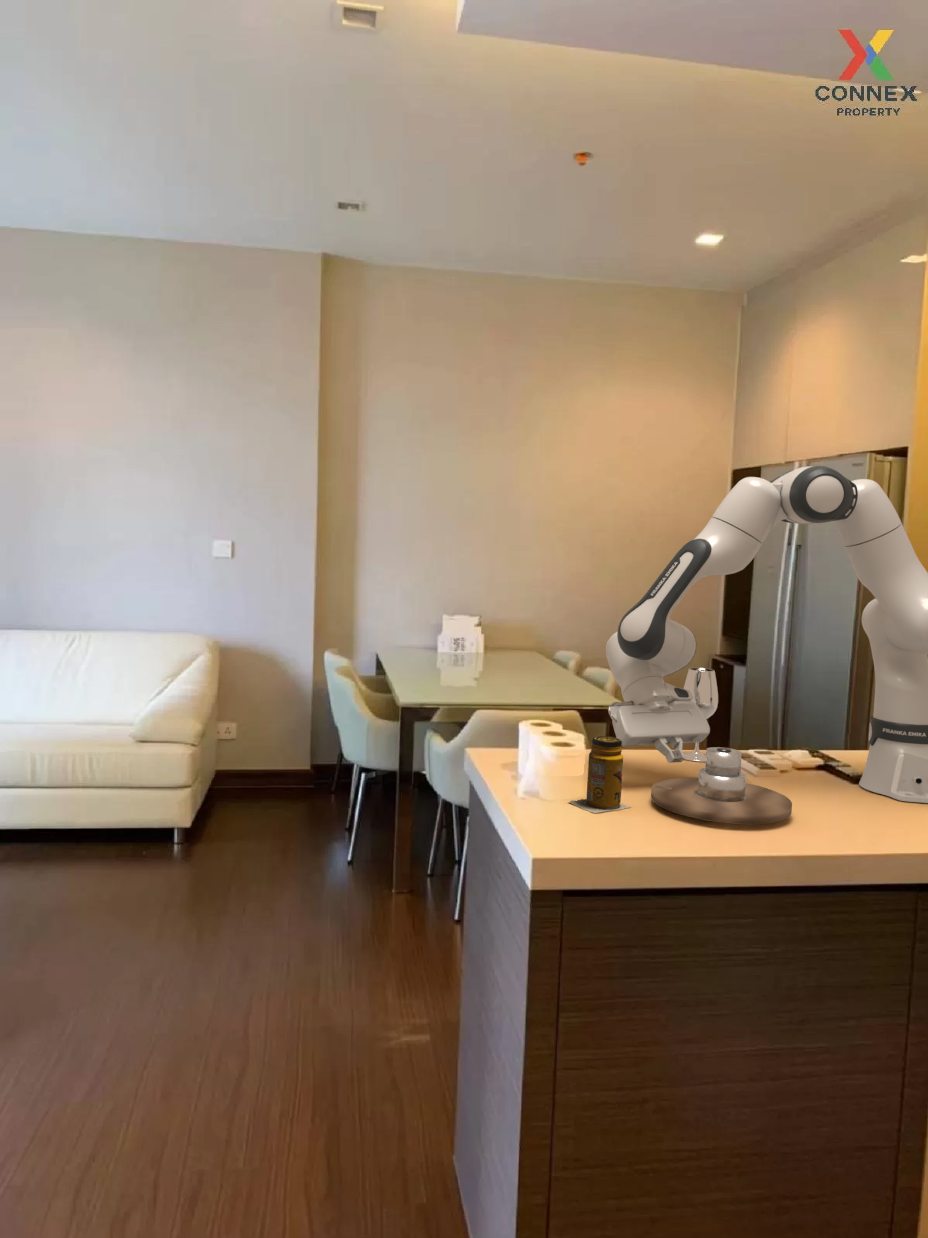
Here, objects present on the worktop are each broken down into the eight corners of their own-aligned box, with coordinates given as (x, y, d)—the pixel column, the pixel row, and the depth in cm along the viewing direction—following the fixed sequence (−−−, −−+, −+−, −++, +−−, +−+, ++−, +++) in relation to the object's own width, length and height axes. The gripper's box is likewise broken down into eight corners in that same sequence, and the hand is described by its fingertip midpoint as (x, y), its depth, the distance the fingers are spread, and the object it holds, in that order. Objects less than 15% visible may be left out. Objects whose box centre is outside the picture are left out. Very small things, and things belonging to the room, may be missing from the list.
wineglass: (671, 754, 200) (676, 667, 198) (701, 753, 202) (707, 667, 200) (690, 762, 192) (696, 672, 191) (721, 761, 194) (727, 671, 193)
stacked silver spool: (745, 792, 159) (748, 747, 158) (743, 804, 151) (747, 756, 151) (699, 787, 161) (702, 742, 161) (696, 798, 154) (698, 751, 153)
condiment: (630, 808, 156) (634, 741, 155) (594, 814, 151) (598, 745, 150) (602, 797, 162) (606, 733, 161) (567, 803, 157) (570, 736, 156)
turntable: (791, 795, 164) (792, 787, 164) (791, 832, 141) (792, 823, 141) (660, 779, 172) (661, 771, 172) (641, 811, 150) (641, 802, 150)
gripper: (612, 693, 169) (639, 755, 161) (697, 690, 177) (727, 749, 169) (598, 712, 173) (624, 773, 165) (681, 708, 182) (710, 766, 174)
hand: (677, 761), depth 167 cm, fingers closed
